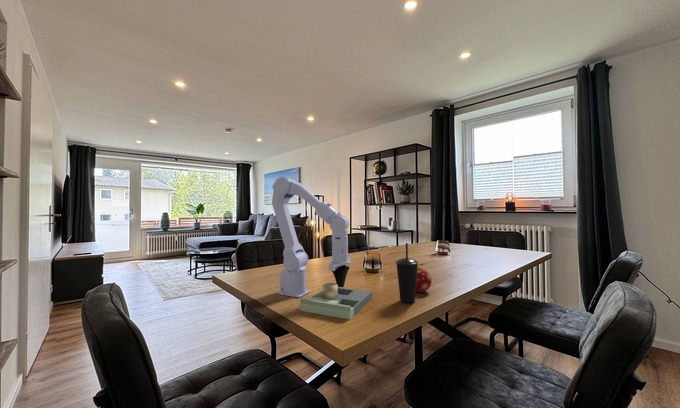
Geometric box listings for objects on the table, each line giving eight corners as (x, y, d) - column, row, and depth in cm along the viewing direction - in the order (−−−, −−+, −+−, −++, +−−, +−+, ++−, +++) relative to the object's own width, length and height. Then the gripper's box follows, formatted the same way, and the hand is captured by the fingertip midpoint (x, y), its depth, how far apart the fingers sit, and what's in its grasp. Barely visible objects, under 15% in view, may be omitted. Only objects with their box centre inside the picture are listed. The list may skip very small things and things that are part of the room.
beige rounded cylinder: (320, 298, 93) (320, 286, 93) (327, 293, 97) (327, 282, 97) (333, 300, 90) (333, 288, 90) (340, 295, 95) (340, 284, 95)
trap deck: (300, 310, 88) (300, 299, 88) (329, 292, 106) (329, 283, 106) (349, 319, 81) (349, 307, 81) (372, 298, 99) (372, 288, 99)
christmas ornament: (406, 288, 111) (405, 263, 111) (427, 288, 111) (427, 263, 111) (411, 295, 102) (410, 267, 102) (434, 295, 102) (434, 267, 102)
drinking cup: (398, 296, 101) (397, 241, 101) (420, 299, 98) (419, 242, 98) (394, 303, 94) (393, 244, 94) (417, 306, 91) (416, 245, 91)
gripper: (341, 252, 93) (342, 293, 93) (357, 246, 106) (358, 282, 106) (322, 251, 96) (323, 291, 96) (340, 246, 109) (341, 280, 109)
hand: (340, 286), depth 101 cm, fingers closed
